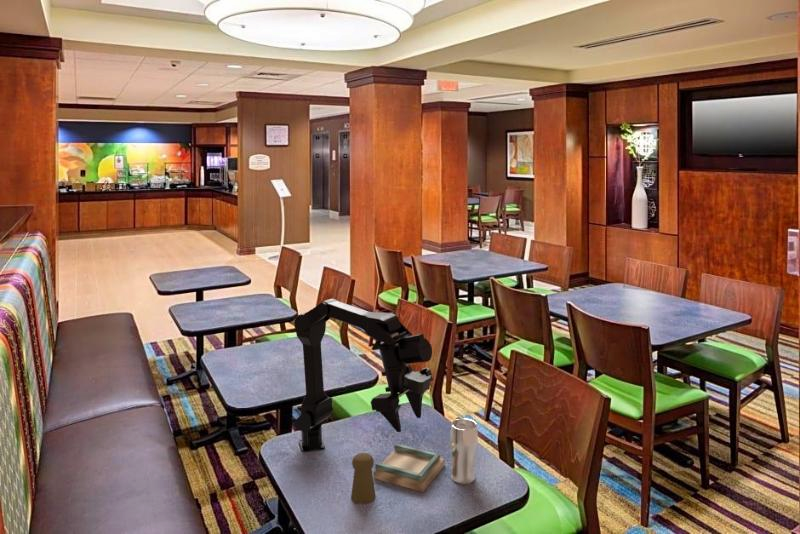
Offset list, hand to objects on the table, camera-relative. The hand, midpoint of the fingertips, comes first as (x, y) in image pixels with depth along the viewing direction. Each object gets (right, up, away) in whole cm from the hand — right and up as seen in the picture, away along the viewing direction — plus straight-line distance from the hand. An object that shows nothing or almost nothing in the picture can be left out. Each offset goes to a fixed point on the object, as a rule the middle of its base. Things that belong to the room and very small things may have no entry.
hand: (409, 424), depth 149 cm
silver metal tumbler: (+14, -15, +5) cm, 21 cm away
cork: (-11, -17, -4) cm, 21 cm away
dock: (0, -14, +8) cm, 16 cm away
